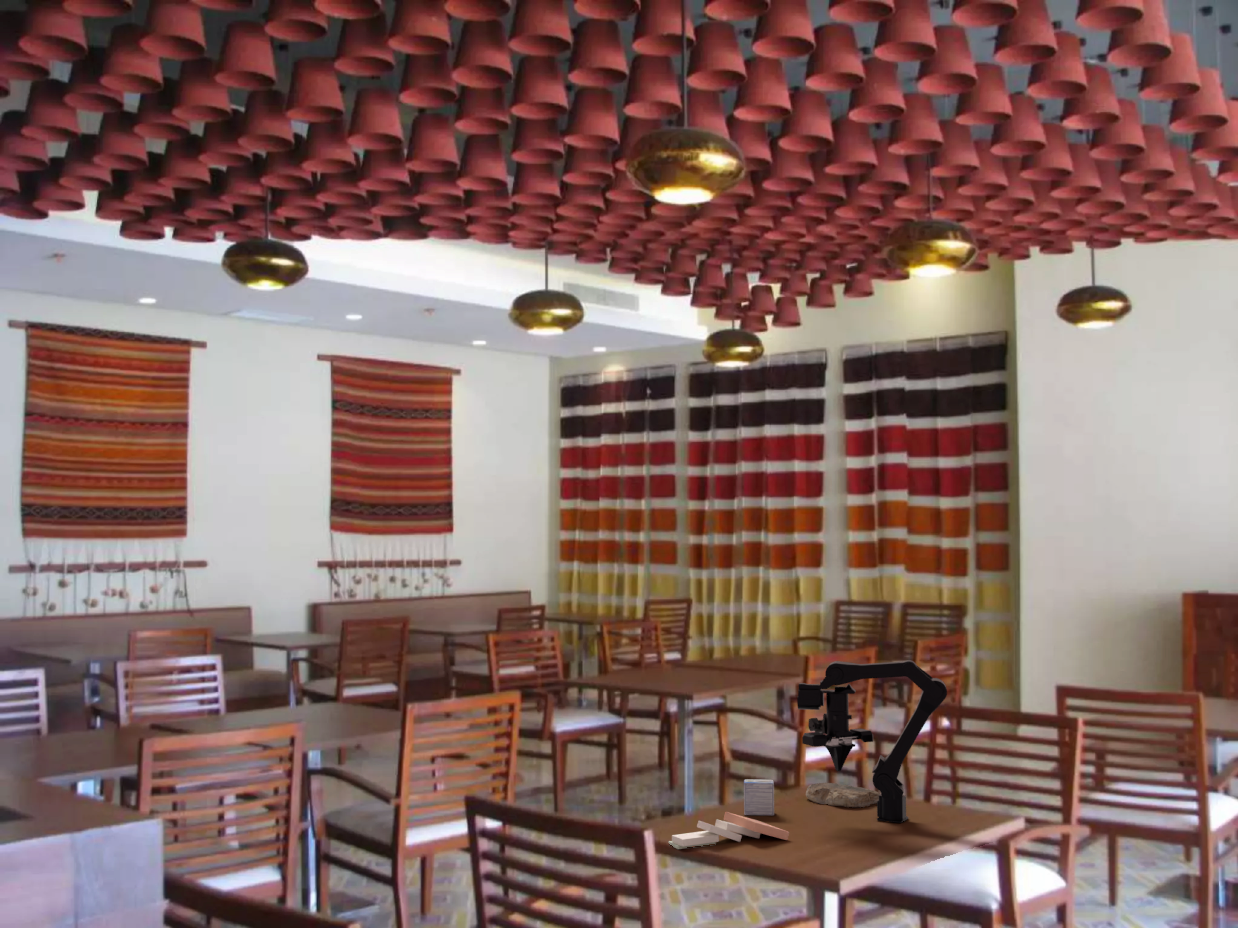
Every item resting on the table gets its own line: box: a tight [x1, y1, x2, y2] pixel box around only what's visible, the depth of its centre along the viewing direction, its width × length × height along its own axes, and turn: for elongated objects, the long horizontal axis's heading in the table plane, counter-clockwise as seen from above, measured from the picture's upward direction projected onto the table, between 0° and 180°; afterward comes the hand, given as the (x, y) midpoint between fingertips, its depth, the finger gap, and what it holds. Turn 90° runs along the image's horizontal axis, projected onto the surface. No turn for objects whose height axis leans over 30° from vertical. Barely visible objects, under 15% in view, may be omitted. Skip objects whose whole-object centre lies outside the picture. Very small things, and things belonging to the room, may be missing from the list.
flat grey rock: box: [805, 782, 881, 808], centre depth 346 cm, size 14×5×20 cm
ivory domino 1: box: [671, 830, 720, 846], centre depth 297 cm, size 2×5×10 cm
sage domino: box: [667, 840, 716, 850], centre depth 298 cm, size 2×5×10 cm
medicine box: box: [743, 778, 775, 816], centre depth 331 cm, size 8×4×9 cm, turn 84°
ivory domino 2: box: [696, 820, 743, 843], centre depth 300 cm, size 2×5×10 cm
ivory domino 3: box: [714, 818, 761, 839], centre depth 304 cm, size 2×5×10 cm
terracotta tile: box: [722, 811, 790, 841], centre depth 306 cm, size 2×14×10 cm
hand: (838, 770), depth 326 cm, fingers closed
